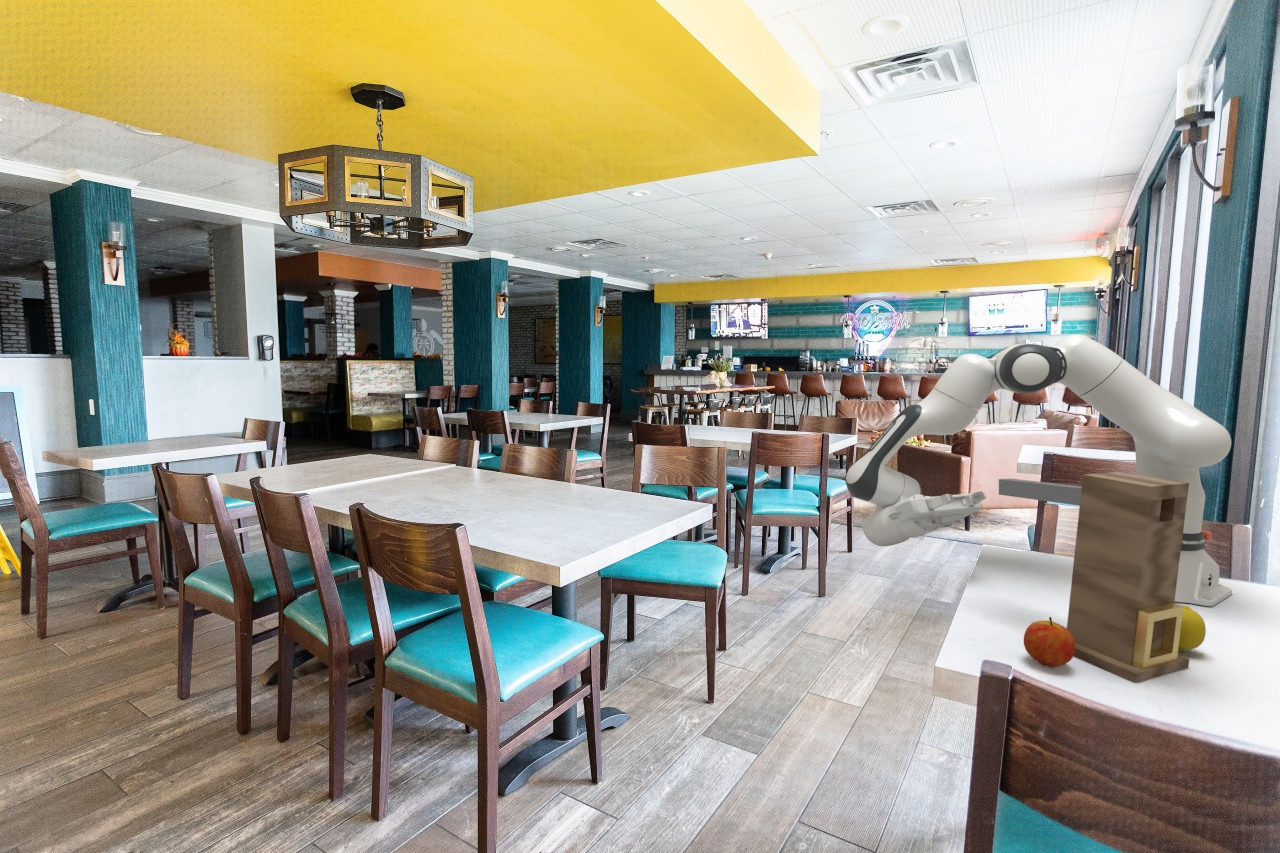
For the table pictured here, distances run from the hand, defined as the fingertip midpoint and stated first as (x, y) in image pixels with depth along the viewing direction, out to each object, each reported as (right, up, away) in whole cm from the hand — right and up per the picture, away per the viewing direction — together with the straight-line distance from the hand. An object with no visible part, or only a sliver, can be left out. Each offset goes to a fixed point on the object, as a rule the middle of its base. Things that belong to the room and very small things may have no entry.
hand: (967, 496), depth 132 cm
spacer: (+13, -23, -32) cm, 41 cm away
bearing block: (+11, -24, -26) cm, 37 cm away
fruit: (-3, -24, -30) cm, 39 cm away
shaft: (+8, +1, -20) cm, 21 cm away
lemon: (+24, -24, -24) cm, 42 cm away
